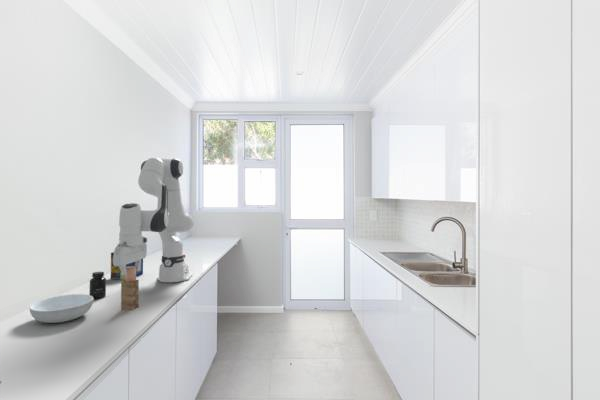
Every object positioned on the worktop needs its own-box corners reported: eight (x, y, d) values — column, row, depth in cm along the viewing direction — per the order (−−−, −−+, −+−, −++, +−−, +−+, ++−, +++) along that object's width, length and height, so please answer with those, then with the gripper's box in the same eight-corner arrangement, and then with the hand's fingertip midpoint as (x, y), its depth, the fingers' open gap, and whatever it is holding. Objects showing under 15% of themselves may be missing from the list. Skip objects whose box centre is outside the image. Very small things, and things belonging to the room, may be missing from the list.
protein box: (110, 279, 200) (110, 252, 200) (129, 273, 215) (129, 248, 215) (125, 280, 198) (125, 253, 197) (143, 274, 213) (143, 249, 212)
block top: (127, 288, 152) (127, 279, 152) (138, 288, 152) (138, 279, 152) (121, 291, 147) (121, 282, 147) (132, 291, 147) (132, 282, 147)
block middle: (127, 297, 153) (127, 288, 152) (138, 297, 152) (138, 288, 152) (121, 300, 148) (121, 291, 147) (132, 301, 147) (132, 291, 147)
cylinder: (128, 279, 152) (128, 266, 152) (138, 279, 152) (138, 266, 152) (122, 282, 148) (122, 268, 148) (132, 282, 147) (132, 268, 147)
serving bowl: (38, 313, 142) (38, 297, 142) (97, 307, 150) (97, 292, 150) (21, 332, 123) (21, 313, 123) (88, 324, 131) (88, 306, 131)
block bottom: (127, 306, 153) (127, 297, 153) (138, 306, 152) (138, 297, 152) (121, 309, 148) (121, 300, 148) (132, 310, 147) (132, 301, 147)
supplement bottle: (98, 300, 161) (98, 274, 161) (85, 298, 162) (86, 273, 162) (109, 295, 167) (109, 271, 167) (97, 294, 169) (97, 270, 169)
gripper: (123, 244, 139) (123, 278, 139) (149, 238, 159) (149, 267, 160) (108, 244, 139) (108, 277, 140) (136, 237, 160) (136, 267, 160)
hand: (130, 272), depth 150 cm, fingers open, 8 cm apart
